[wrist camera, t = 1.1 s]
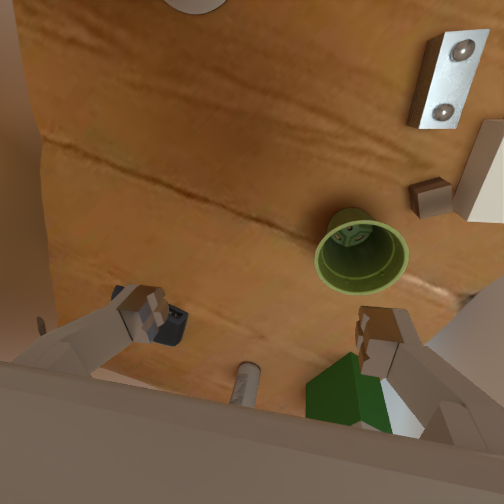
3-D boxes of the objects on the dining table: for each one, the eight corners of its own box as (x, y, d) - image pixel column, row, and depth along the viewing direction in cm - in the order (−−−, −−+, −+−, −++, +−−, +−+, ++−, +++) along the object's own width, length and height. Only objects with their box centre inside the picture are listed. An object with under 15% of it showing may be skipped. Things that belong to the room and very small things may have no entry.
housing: (427, 40, 30) (448, 30, 26) (465, 38, 30) (495, 26, 25) (406, 125, 35) (421, 129, 30) (438, 124, 34) (459, 129, 29)
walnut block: (408, 185, 39) (417, 193, 35) (439, 176, 37) (451, 184, 34) (411, 209, 40) (420, 219, 37) (440, 201, 39) (452, 211, 36)
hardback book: (329, 396, 69) (335, 518, 49) (306, 383, 69) (303, 502, 49) (376, 366, 60) (408, 502, 40) (350, 351, 59) (370, 483, 39)
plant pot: (402, 206, 40) (430, 239, 31) (364, 263, 47) (378, 306, 37) (331, 182, 41) (337, 208, 31) (303, 242, 47) (301, 279, 38)
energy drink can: (248, 377, 72) (235, 436, 60) (235, 364, 70) (218, 422, 58) (265, 371, 69) (255, 432, 57) (251, 358, 68) (238, 418, 55)
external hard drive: (181, 340, 71) (175, 353, 67) (116, 315, 71) (106, 326, 67) (190, 310, 64) (183, 322, 60) (117, 281, 63) (106, 292, 60)
